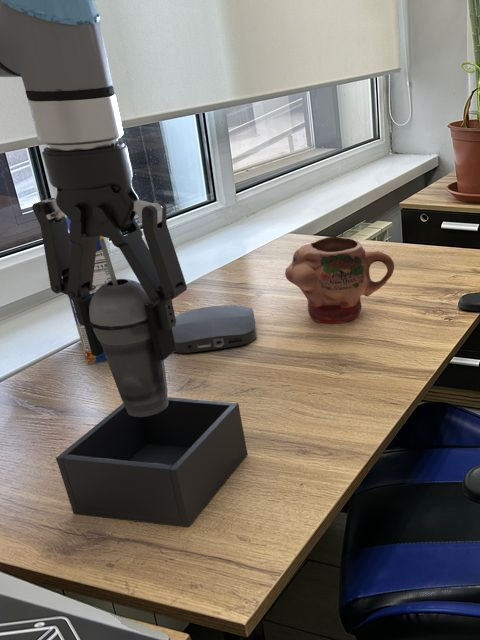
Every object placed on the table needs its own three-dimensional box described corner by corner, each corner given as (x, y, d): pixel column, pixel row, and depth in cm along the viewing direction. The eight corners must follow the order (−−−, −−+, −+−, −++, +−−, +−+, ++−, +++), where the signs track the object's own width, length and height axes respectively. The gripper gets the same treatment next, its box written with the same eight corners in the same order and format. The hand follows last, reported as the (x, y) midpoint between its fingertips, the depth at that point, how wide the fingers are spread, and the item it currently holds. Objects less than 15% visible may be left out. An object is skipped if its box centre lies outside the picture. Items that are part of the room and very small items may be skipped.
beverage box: (88, 365, 117) (52, 235, 107) (80, 341, 125) (47, 219, 115) (132, 355, 120) (101, 228, 110) (122, 332, 128) (93, 213, 119)
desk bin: (73, 514, 82) (55, 457, 78) (146, 444, 95) (133, 394, 91) (189, 527, 79) (175, 470, 76) (247, 454, 92) (238, 402, 89)
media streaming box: (253, 314, 135) (251, 299, 134) (258, 345, 123) (256, 329, 121) (172, 325, 131) (169, 310, 130) (169, 357, 118) (165, 341, 117)
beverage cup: (135, 430, 78) (90, 256, 69) (101, 410, 82) (55, 243, 73) (193, 403, 83) (158, 238, 74) (159, 386, 87) (122, 227, 78)
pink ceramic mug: (391, 297, 142) (387, 229, 136) (400, 320, 132) (396, 248, 126) (290, 306, 138) (281, 238, 132) (291, 331, 128) (281, 257, 122)
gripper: (197, 138, 71) (233, 344, 81) (21, 135, 74) (77, 333, 84) (155, 151, 64) (200, 374, 74) (-36, 148, 68) (31, 361, 78)
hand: (134, 352), depth 79 cm, fingers closed on beverage cup, 7 cm apart
